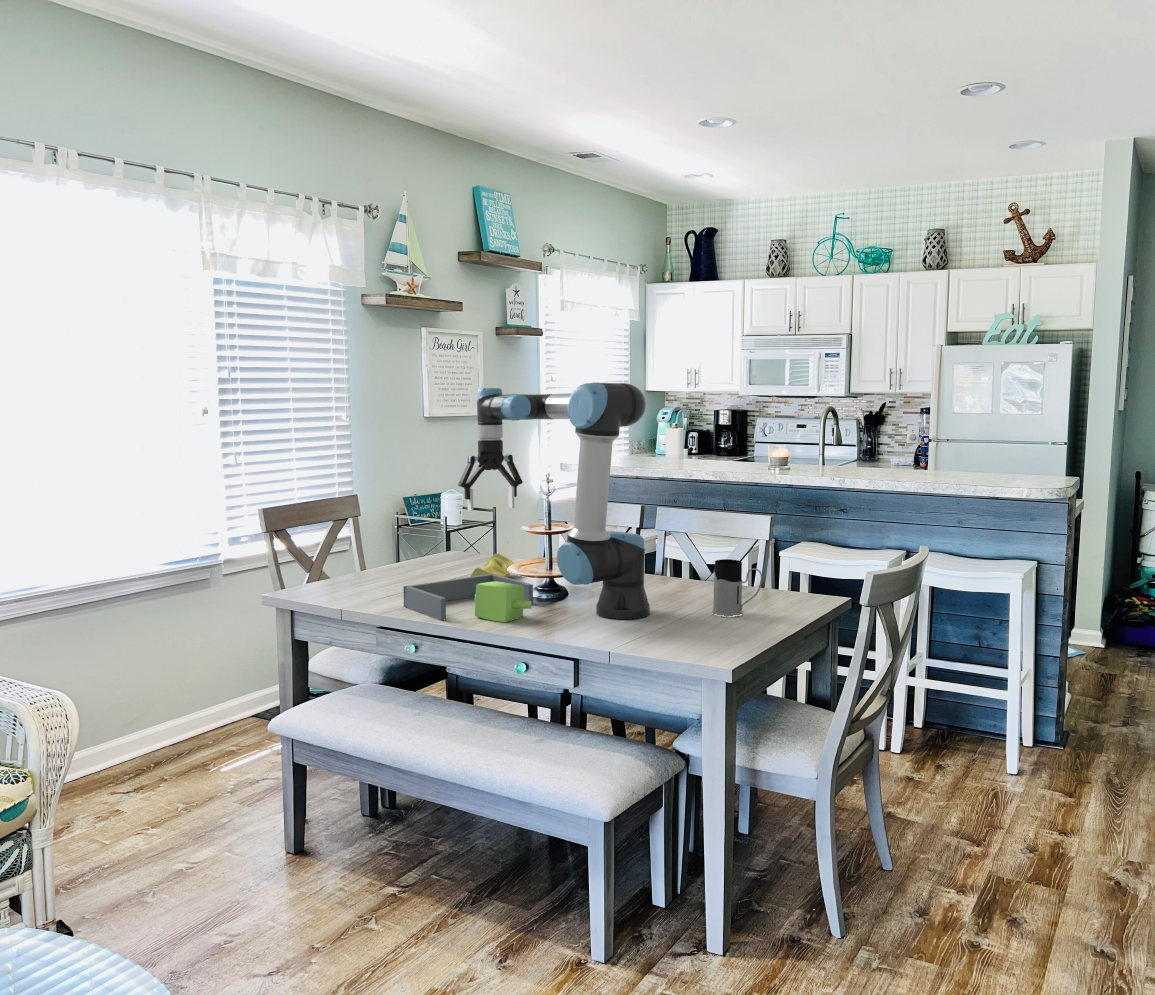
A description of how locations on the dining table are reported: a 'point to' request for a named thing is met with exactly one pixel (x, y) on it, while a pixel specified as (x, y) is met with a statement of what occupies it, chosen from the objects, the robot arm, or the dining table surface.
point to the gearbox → (500, 601)
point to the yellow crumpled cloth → (495, 566)
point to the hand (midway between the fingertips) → (491, 509)
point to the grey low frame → (451, 593)
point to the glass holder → (729, 587)
